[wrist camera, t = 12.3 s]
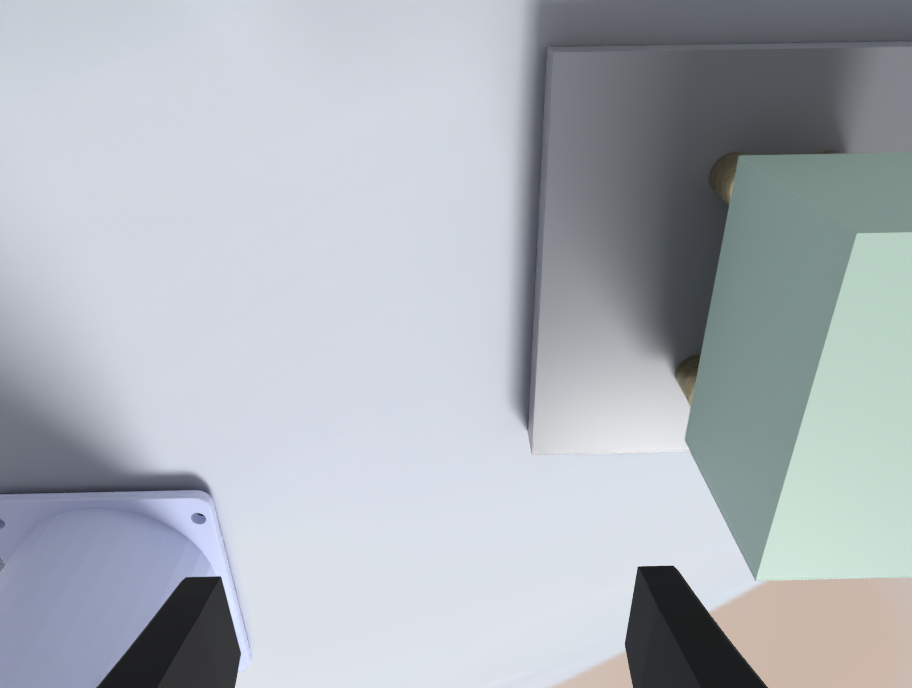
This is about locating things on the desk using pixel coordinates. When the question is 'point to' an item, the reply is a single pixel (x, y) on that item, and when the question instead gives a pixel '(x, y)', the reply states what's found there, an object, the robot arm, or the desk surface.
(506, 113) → the desk surface
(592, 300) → the plate
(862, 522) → the board block
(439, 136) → the desk surface
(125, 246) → the desk surface
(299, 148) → the desk surface
